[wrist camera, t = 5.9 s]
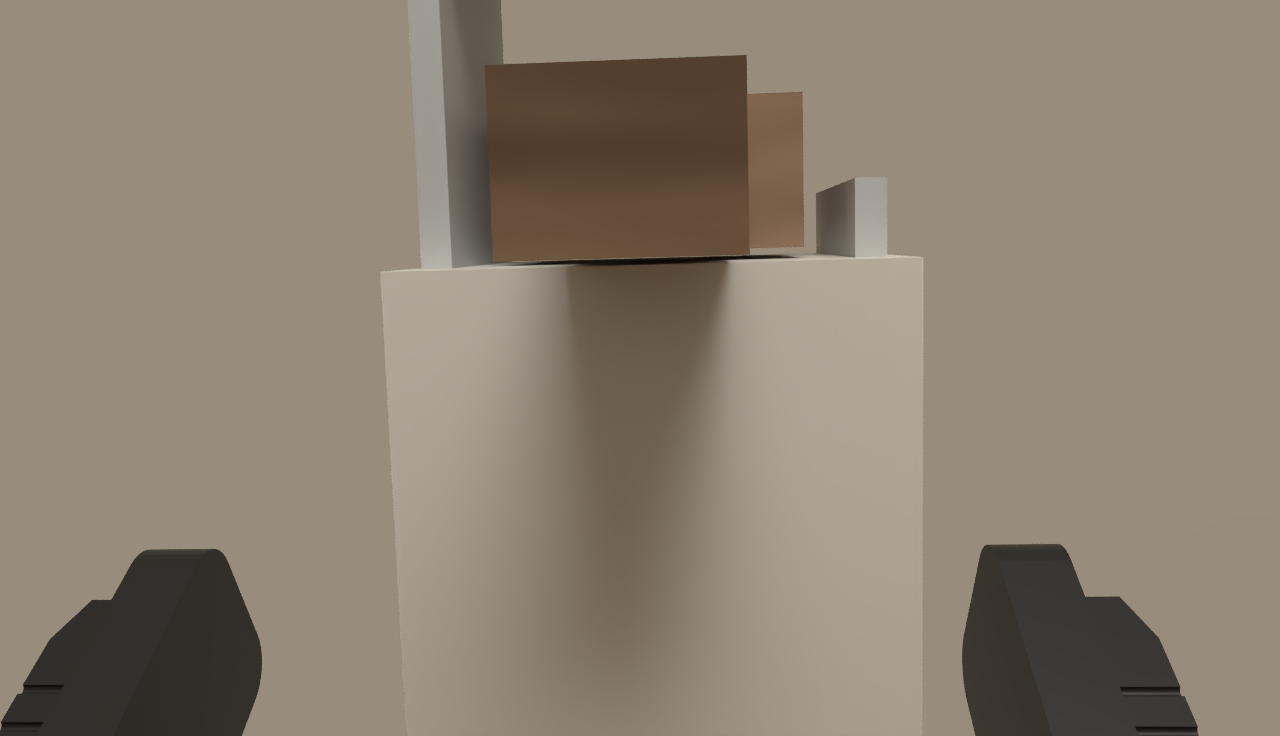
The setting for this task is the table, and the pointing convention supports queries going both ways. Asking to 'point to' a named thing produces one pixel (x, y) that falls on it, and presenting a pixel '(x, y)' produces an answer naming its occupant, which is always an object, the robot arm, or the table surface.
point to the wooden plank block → (640, 160)
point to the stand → (647, 463)
